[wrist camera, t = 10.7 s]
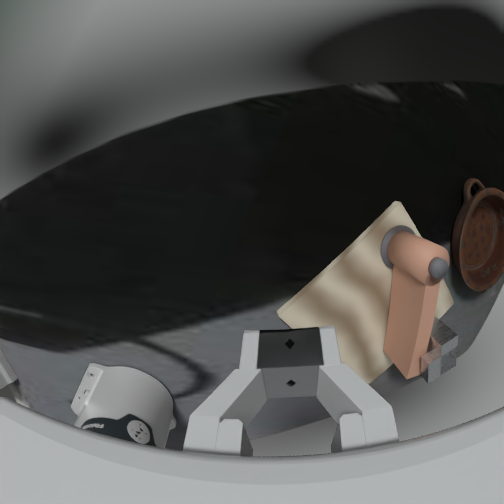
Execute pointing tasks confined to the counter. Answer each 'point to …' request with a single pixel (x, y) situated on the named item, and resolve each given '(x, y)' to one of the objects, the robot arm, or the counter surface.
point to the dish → (479, 236)
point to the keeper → (439, 351)
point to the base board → (358, 296)
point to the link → (412, 298)
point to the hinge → (5, 371)
